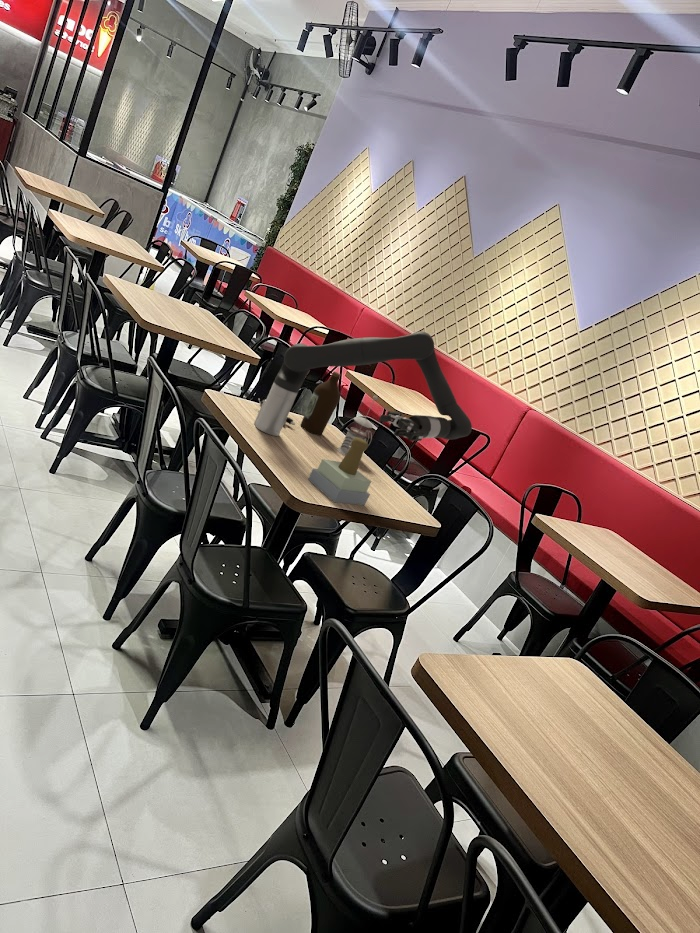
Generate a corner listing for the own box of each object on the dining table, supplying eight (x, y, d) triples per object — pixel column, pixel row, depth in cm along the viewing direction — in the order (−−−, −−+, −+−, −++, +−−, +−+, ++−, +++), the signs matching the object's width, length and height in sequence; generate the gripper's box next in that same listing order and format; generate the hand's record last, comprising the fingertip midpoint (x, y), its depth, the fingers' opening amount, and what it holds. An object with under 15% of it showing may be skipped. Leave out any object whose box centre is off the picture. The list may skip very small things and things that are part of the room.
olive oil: (320, 429, 284) (345, 374, 278) (325, 438, 275) (352, 381, 268) (296, 420, 280) (322, 364, 274) (301, 429, 271) (327, 371, 264)
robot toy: (293, 431, 268) (280, 413, 279) (298, 421, 266) (285, 404, 278) (266, 424, 261) (253, 405, 272) (271, 413, 259) (258, 395, 270)
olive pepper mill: (347, 466, 222) (361, 436, 220) (359, 475, 219) (374, 445, 216) (334, 464, 218) (349, 433, 215) (347, 474, 214) (362, 443, 211)
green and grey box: (307, 479, 220) (318, 457, 218) (338, 483, 230) (348, 462, 228) (334, 502, 211) (345, 479, 209) (364, 505, 221) (375, 483, 219)
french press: (349, 449, 276) (376, 392, 269) (367, 463, 269) (395, 405, 262) (332, 446, 269) (359, 388, 262) (350, 460, 262) (379, 401, 255)
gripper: (415, 406, 235) (379, 403, 225) (441, 428, 226) (405, 427, 216) (406, 425, 238) (371, 423, 228) (431, 447, 229) (395, 447, 219)
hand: (387, 425), depth 222 cm, fingers open, 8 cm apart
